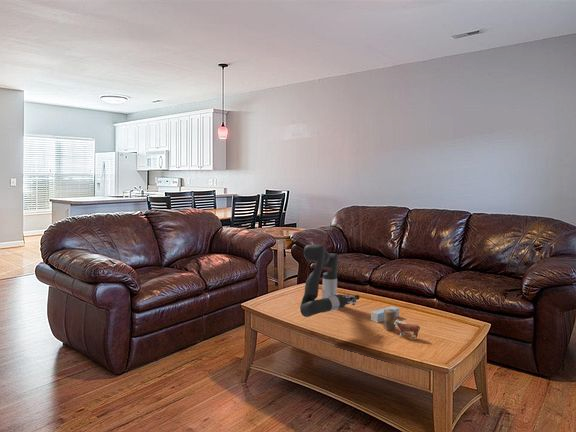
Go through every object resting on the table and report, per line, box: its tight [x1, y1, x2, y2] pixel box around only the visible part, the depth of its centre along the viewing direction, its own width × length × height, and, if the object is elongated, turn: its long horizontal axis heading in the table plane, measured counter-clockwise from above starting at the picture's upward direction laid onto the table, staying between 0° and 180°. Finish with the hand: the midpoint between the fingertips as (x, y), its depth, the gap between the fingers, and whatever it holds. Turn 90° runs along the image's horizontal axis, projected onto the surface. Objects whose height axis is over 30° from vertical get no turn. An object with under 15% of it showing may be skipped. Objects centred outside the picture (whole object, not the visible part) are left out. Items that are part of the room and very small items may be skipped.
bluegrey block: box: [370, 306, 400, 323], centre depth 243 cm, size 5×5×18 cm
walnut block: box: [382, 309, 397, 331], centre depth 226 cm, size 5×5×10 cm
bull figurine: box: [394, 319, 421, 340], centre depth 215 cm, size 4×13×8 cm, turn 59°
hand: (358, 296), depth 230 cm, fingers closed
